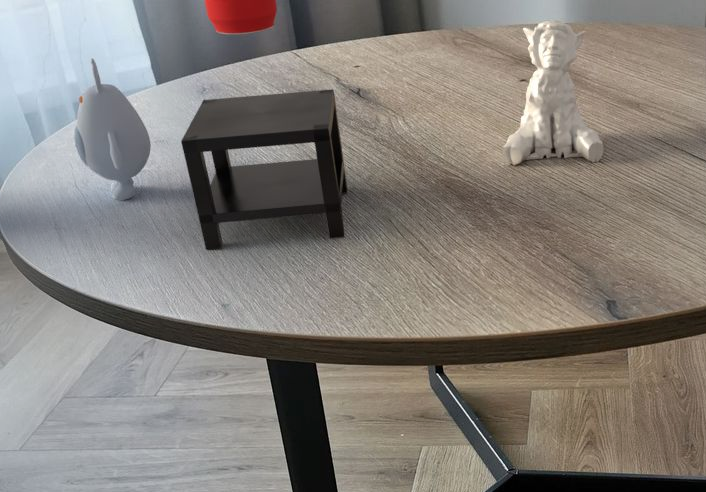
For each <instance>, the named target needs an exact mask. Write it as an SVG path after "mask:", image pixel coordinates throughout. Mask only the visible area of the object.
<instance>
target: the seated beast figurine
mask: <svg viewBox="0 0 706 492" xmlns="http://www.w3.org/2000/svg"><path fill="white" fill-rule="evenodd" d="M522 31H523V33H524V35H525V37H526V39H527V41H528V43H529V45H528V47H527V51H528V52H529V58H530V60H531V64H532V65H534V66H535V67H536V68H537V69H536V70H534V72H533V74H532V76H531V78H530V79H529V84H528V86H527V88H526V91H525V98H526V99H525V100H526V101H525V105H524V106H525V107H524V109H523V115H522V116H521V117H520V122H519V124H520V126H519V128H518V129H517V130H516V131H515V132H514V133H512V134H510V135H509V136H508V137H507V141H506V142H505V144H504V145H503V147H502V149H501V153H500V154H501V158H502V160H503V161H504V162H505V164H507V165H512V166H517V165H521V164H522V163H523V162H524V161H529V160H542V159H544V157H546V159H547V160H548V159H550V158H551V157H557V158H558V159H561V158H562V155H563V157H564V159H568V158H584V159H586V160H587V161H588V162H591V163H598V162H600V160H602V159H601V158H602V157H603V155H604V151H605V150H604V144H603V141H602V140H601V139H600V136H599V134H598V133H597V132H596V131H595V130H594V129H592V128H591V127H588V125H586V123H585V120H584V119H583V117H582V116H581V110H580V108H579V105H578V103H577V99H578V98H577V92H576V89H575V86H576V85H575V84H574V81H573V78H571V76H570V73H569V72H568V71H569V68H570V66H571V65H572V63H574V62H575V61H576V60H577V59H578V53H577V52H578V50H579V49H580V47H581V45H582V42H583V38H584V36H585V34H586V33H587V30H582V31H580V32H578V33H576V32H574V31H573V28H572V26H571V25H570V24H568V23H564V22H562V21H561V20H558V19H552V20H548V19H547V20H546V21H545V20H544V21H543V22H539V23H538V24H537V26H535V27H534V29H531V28H529V27H523V28H522ZM552 150H555V153H554V152H553V153H552Z"/></svg>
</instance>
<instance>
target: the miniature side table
mask: <svg viewBox="0 0 706 492" xmlns="http://www.w3.org/2000/svg"><path fill="white" fill-rule="evenodd" d="M335 96H336V95H335V90H334V89H320V90H310V91H309V90H307V91H295V92H283V93H272V94H261V95H247V96H235V97H234V96H233V97H224V98H212V99H203V100H202V101H201V103H200V106H199V107H198V109H197V111H196V112H195V114H194V116H193V118H192V120H191V122H190V123H189V126H188V128H187V130H186V131H185V132H184V135H183V137H182V138H181V141H180V143H181V146H182V152H183V155H184V161H185V164H186V169H187V172H188V173H187V174H188V177H189V181H190V185H191V190H192V195H193V199H194V203H195V208H196V213H197V217H198V222H199V225H200V230H201V235H202V239H203V243H204V247H205V250H206V251H209V250H220V249H222V246H223V236H222V233H221V228H220V224H222V223H234V222H244V221H255V220H264V219H265V220H266V219H267V220H268V219H277V218H289V217H299V216H310V215H322V214H325V219H326V224H327V226H326V227H327V232H328V238H329V239H330V240H331V239H339V238H340V239H341V238H345V235H346V234H345V233H346V231H345V223H344V217H343V210H342V200H343V199H342V198H343V194H347V193H348V182H347V176H346V168H345V167H346V166H345V162H344V155H343V147H342V139H341V133H340V132H341V131H340V126H339V117H338V111H337V103H336V97H335ZM311 143H314V147H315V148H314V149H315V154H316V158H312V159H301V160H290V161H278V162H277V161H276V162H268V163H267V162H265V163H255V164H243V165H232V164H231V159H230V154H229V150H240V149H241V150H242V149H253V148H264V147H265V148H266V147H276V146H289V145H297V144H298V145H300V144H311ZM205 152H211V158H212V161H213V166H214V170H215V173H214V175H213V178H212V180H211V182H210V178H209V173H208V167H207V163H206V159H205V154H204V153H205Z"/></svg>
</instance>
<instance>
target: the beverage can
mask: <svg viewBox="0 0 706 492" xmlns="http://www.w3.org/2000/svg"><path fill="white" fill-rule="evenodd" d="M204 4H205V10H206V15H207V18H208V19H209V21H210V22H211V23H212V25H213V27H214V29H215V31H216V33H217V34H221V35H231V36H232V35H235V36H236V35H237V36H238V35H249V34H256V33H261V32H264V31H269V30H271V29H272V28H274V27H275V20H276V16H277V12H278V7H277V1H276V0H204Z"/></svg>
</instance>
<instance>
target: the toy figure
mask: <svg viewBox="0 0 706 492" xmlns="http://www.w3.org/2000/svg"><path fill="white" fill-rule="evenodd" d="M90 66H91V71H92V77H93V81H94V84H95V85H91V86H89V87H87V88H86V89H84V91H83V92H82V94H81V95H80V97H79V98H78V101H79V106H78V110H77V115H76V125H75V128H74V136H73V137H74V144H75V148H76V151H77V153H78V156H79V158H80V159H81V161H82V163H83V164H84V165H85V166H86V167H88V168H89V169H90V171H92V172H93V173H95V174H96V175H98V176H99V177H101V178H103V179H106V180H108V181H113V182H112V183H111V185H110V188H111V190H112V192H111V193H112V194H111V195H112V198H114V199H115V200H117V201H126V200H129V199H131V198H132V197H133V196H134V195H135V193H136V186H135V185H134V183H135V182H134V181H135V180H134V179H133V178H134V177H136V176H138V175H139V174H140V172H142V170H143V169H144V168H145V167H146V165H147V163H148V160H149V158H150V154H151V149H152V148H151V146H152V145H151V138H150V135H149V132H148V130H147V127H146V125H145V123H144V121H143V120H142V118H141V117H140V115H139V113H138V111H137V110H136V109H135V107H134V106H133V104H132V103H131V102H130V101H129V99H128V98H127V97H126V96H125V94H124V93H123V92H122V91H121V90H120V89H119V88H118V87H117V86H115V85H113V84H107V83H101V82H102V81H101V76H100V72H99V69H98V66H97V63H96V61H95V59H94V58H90Z"/></svg>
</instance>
